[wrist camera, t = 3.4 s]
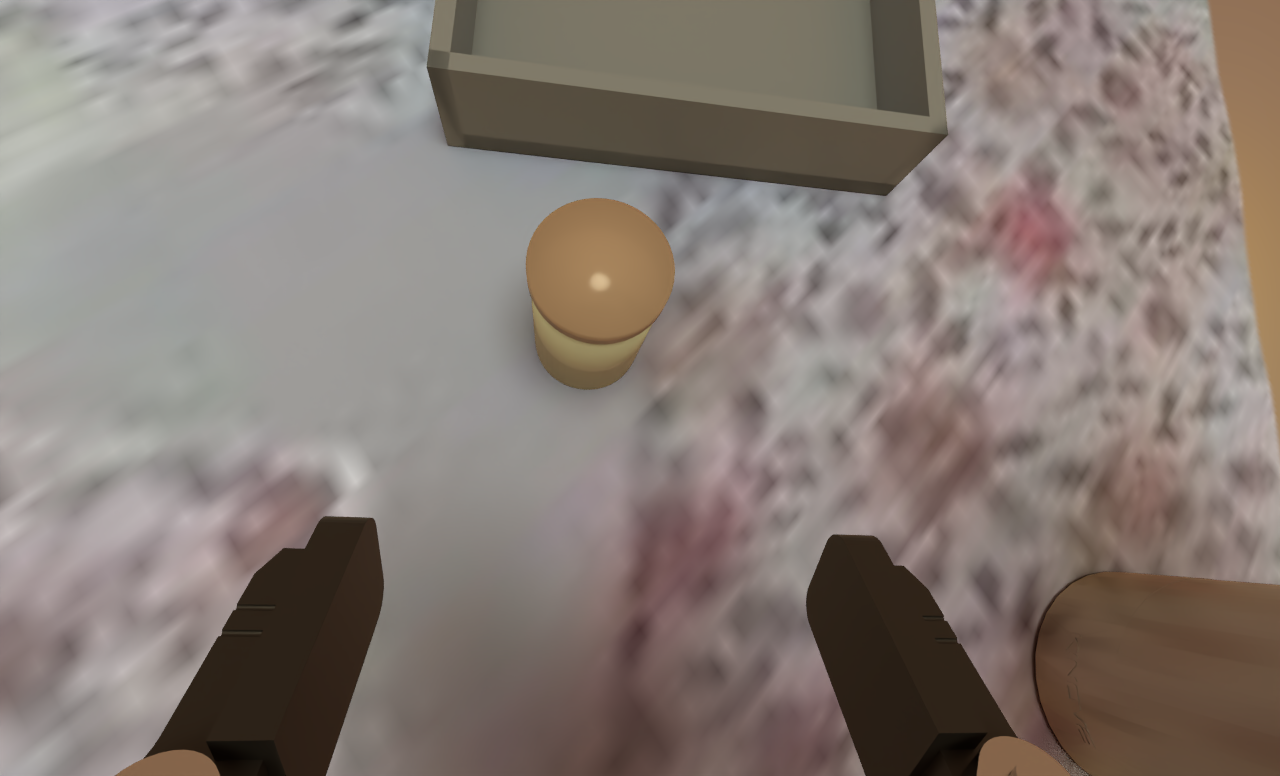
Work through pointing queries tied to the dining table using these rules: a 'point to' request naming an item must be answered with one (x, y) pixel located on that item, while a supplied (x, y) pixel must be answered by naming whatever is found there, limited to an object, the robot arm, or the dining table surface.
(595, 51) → the bin
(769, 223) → the dining table surface
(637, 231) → the lidded yellow jar
